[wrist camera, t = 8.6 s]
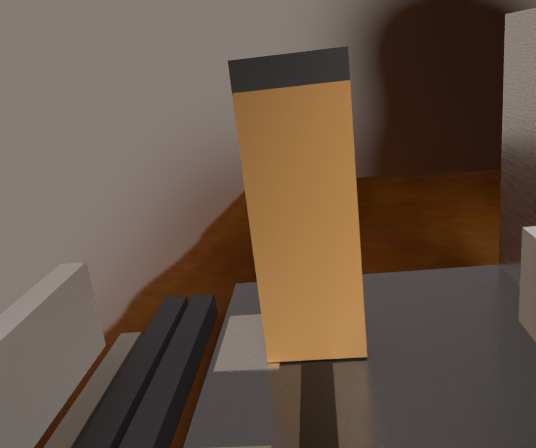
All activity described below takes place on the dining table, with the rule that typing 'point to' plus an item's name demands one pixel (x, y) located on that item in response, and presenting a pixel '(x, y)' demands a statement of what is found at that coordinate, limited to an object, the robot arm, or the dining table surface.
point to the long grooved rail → (141, 381)
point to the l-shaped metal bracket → (402, 337)
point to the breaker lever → (302, 201)
